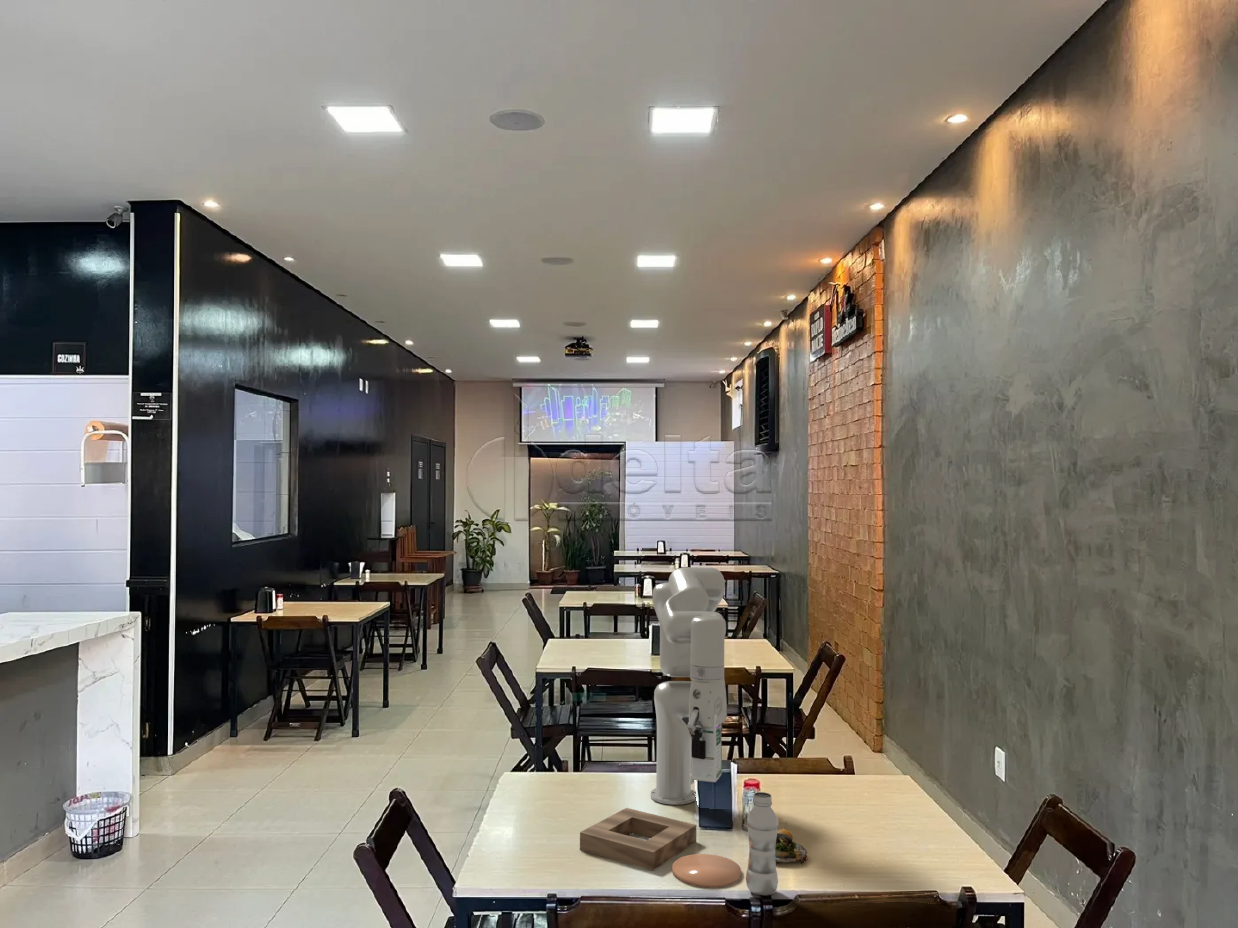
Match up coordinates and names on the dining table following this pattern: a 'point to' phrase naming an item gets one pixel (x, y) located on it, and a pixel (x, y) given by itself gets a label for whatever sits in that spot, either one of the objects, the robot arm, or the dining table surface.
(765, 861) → the plastic bottle
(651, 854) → the holder
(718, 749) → the syrup box
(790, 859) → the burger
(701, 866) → the plate
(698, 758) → the robot arm
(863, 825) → the dining table surface
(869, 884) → the dining table surface
